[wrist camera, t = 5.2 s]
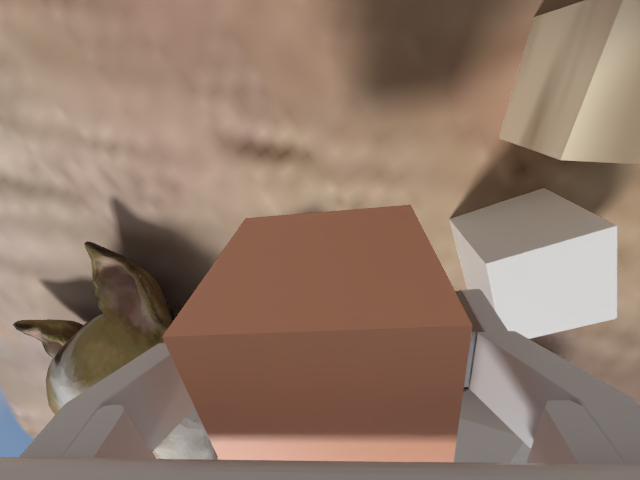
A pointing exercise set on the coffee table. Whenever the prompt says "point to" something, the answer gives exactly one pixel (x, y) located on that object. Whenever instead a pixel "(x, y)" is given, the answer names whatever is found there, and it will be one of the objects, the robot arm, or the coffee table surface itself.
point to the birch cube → (580, 84)
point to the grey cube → (540, 262)
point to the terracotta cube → (326, 341)
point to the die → (486, 435)
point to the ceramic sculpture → (114, 343)
